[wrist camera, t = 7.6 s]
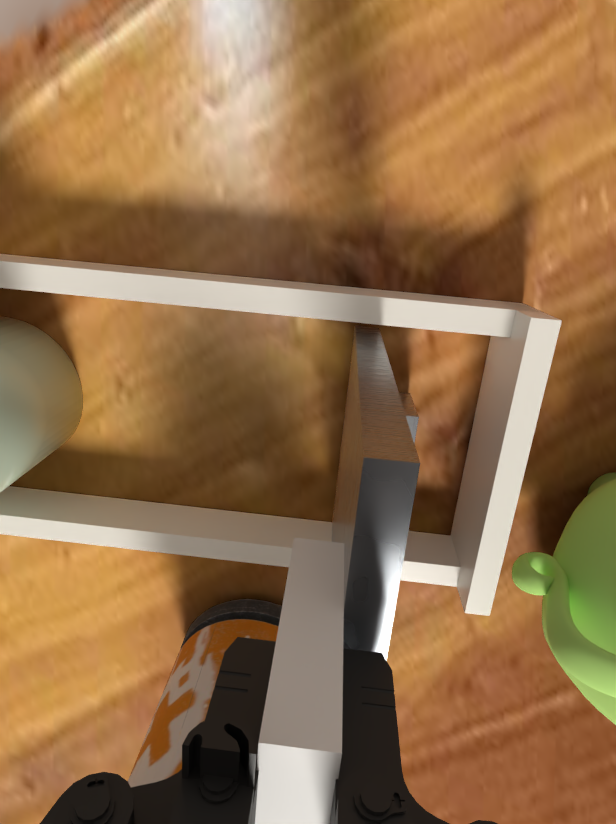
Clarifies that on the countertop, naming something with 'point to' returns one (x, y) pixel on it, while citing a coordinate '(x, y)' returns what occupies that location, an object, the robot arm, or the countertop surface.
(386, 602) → the panel
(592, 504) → the teapot
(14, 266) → the white rectangular frame
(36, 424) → the jar
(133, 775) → the canister
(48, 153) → the countertop surface
